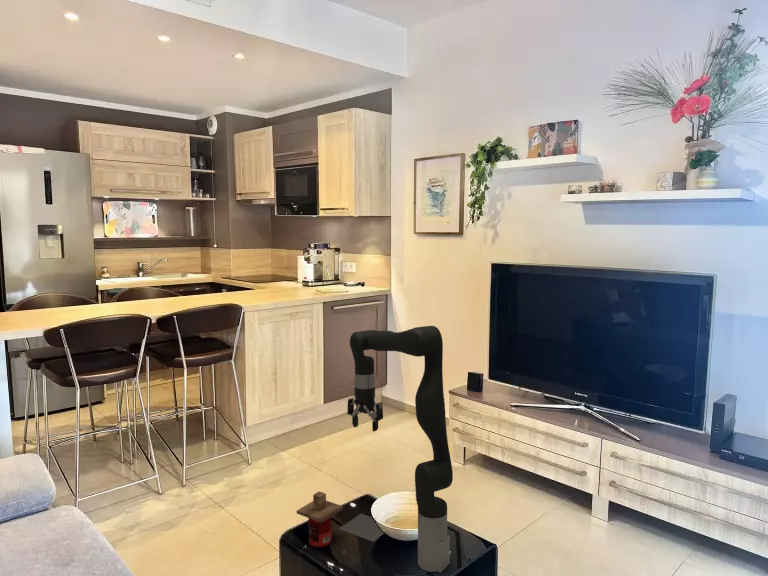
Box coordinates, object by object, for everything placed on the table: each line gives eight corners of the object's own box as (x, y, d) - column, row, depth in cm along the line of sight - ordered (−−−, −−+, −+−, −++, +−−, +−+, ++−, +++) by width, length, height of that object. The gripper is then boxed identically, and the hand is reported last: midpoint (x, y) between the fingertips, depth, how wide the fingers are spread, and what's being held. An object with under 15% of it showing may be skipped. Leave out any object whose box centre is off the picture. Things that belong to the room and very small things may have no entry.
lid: (342, 508, 183) (342, 491, 182) (321, 522, 174) (321, 505, 173) (318, 500, 189) (318, 484, 188) (296, 513, 180) (296, 496, 179)
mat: (394, 526, 192) (394, 525, 192) (373, 542, 181) (373, 541, 181) (360, 514, 200) (360, 513, 200) (339, 530, 190) (339, 528, 190)
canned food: (333, 536, 186) (333, 505, 185) (329, 549, 178) (328, 517, 177) (312, 535, 187) (311, 504, 186) (306, 548, 179) (305, 516, 178)
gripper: (386, 385, 194) (387, 429, 195) (354, 380, 201) (355, 422, 203) (375, 390, 187) (375, 435, 189) (342, 384, 195) (343, 428, 196)
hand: (365, 428), depth 196 cm, fingers open, 8 cm apart
